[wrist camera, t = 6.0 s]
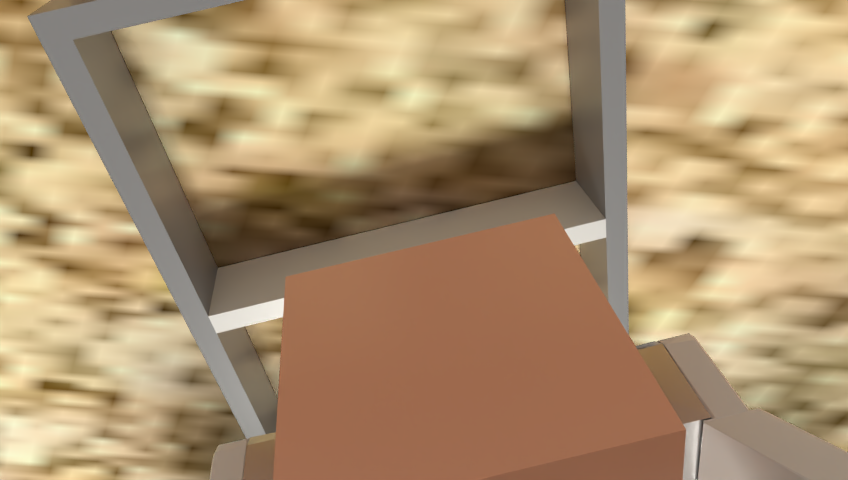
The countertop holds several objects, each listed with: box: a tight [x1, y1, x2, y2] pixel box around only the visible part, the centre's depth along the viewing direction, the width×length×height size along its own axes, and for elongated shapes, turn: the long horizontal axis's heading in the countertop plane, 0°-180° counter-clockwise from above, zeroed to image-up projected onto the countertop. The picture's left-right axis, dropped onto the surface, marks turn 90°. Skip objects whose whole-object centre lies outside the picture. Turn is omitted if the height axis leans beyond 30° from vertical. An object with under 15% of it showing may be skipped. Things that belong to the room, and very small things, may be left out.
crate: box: [27, 0, 629, 439], centre depth 24 cm, size 16×22×3 cm
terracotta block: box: [273, 214, 686, 480], centre depth 10 cm, size 4×4×4 cm
